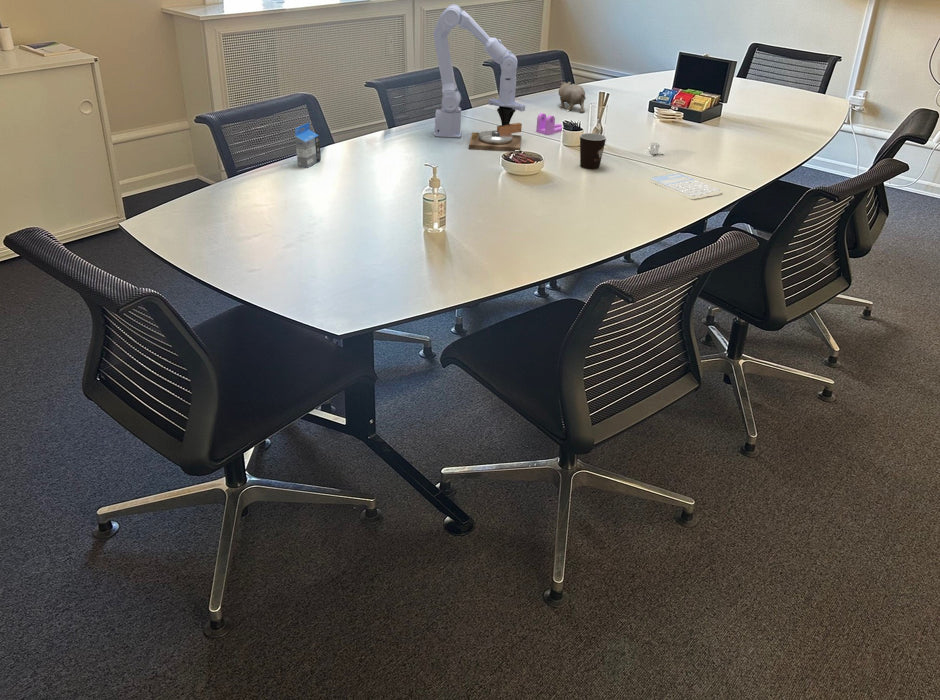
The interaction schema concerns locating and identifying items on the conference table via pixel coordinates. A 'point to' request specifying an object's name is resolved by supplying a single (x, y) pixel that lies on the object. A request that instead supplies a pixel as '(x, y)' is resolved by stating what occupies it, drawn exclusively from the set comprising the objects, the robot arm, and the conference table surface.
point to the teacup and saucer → (654, 148)
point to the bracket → (547, 125)
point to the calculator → (684, 184)
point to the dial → (500, 134)
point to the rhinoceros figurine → (571, 95)
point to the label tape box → (307, 146)
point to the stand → (480, 145)
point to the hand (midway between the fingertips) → (505, 127)
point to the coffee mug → (591, 150)
